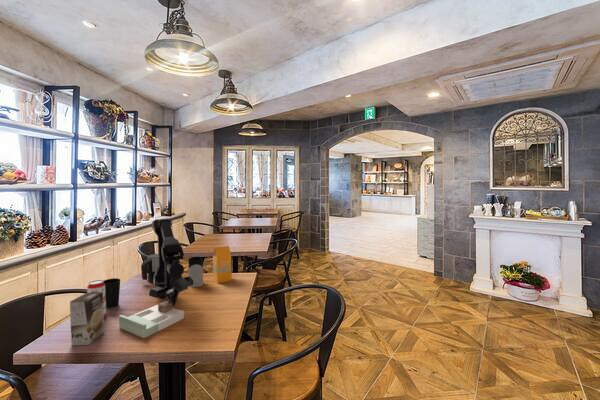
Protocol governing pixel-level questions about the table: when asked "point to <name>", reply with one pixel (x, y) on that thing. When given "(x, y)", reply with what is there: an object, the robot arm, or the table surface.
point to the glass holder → (196, 271)
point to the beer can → (98, 287)
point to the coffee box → (86, 318)
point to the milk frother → (149, 267)
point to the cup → (112, 292)
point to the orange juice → (222, 264)
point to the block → (165, 306)
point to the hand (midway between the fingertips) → (173, 305)
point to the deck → (149, 321)
